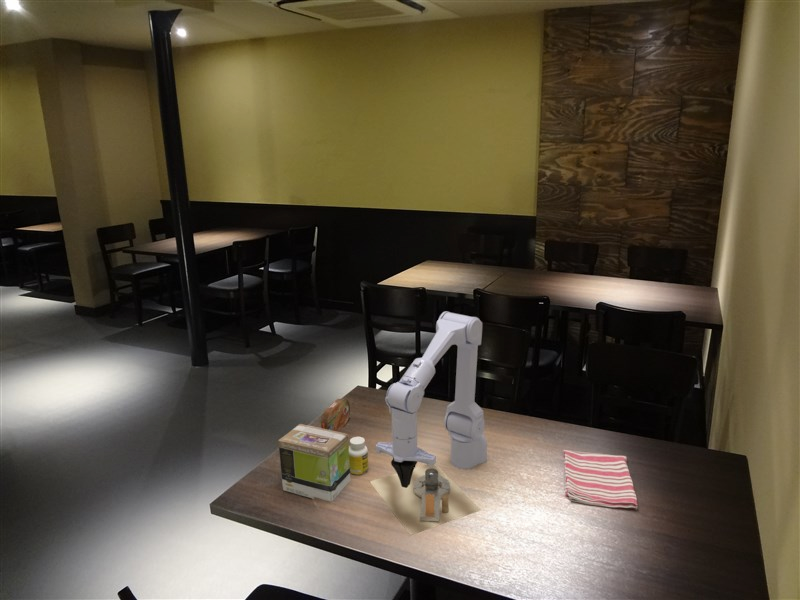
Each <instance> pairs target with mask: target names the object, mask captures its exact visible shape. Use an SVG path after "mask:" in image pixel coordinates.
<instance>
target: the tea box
mask: <svg viewBox="0 0 800 600" xmlns="http://www.w3.org/2000/svg"><path fill="white" fill-rule="evenodd" d="M349 447H350V443H349V434H348V433H346V432H341V431H339V432H337V431H332V430H327V429H323V428H321V427H318V426H312V425H307V424H303V423H299V424H297V425H296V426H295V427H294V428H292V429H291V430H289V432H287V433H286V434H284V436H282V437H281V438H279V439H278V452H279V453H278V454H279V461H280V462H279V463H280V473H281V481H282V482H281V484H282V490H283V491H284V492H285V491H286V492H289V493H292V494H296V495H298V496H303V497H307V498H310V499H312V500H314V499H315V498H316V499H320V500H323V501H328V502H333V501H334V500H335V499H336V498H337V496H339V494H340V493H341V492H342V491H343V490H344V489H345V488H346V487H347V485H349V483H351V474H350V461H349Z"/></svg>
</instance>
